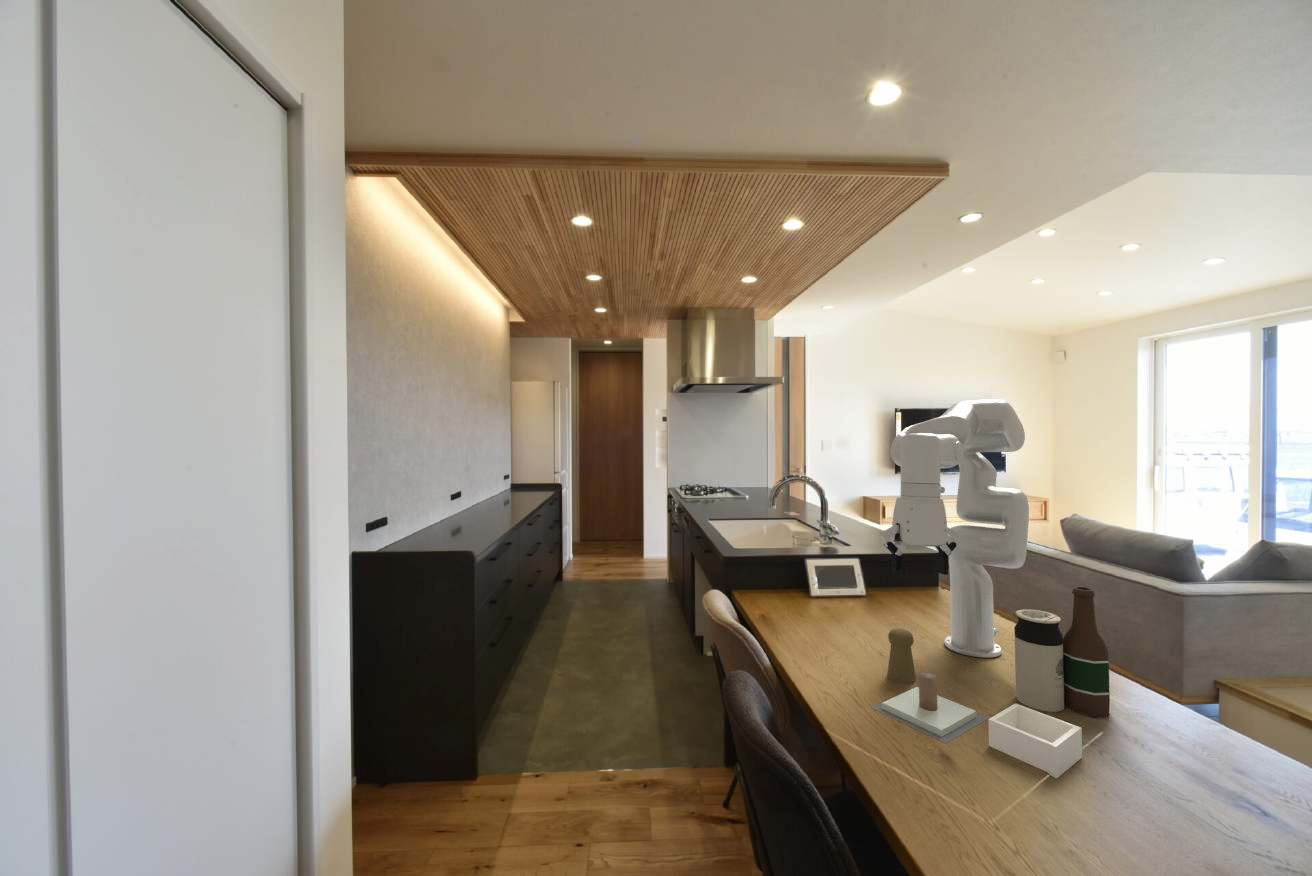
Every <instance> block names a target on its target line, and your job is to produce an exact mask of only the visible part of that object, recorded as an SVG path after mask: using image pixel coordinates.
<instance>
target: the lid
mask: <svg viewBox="0 0 1312 876" xmlns="http://www.w3.org/2000/svg"><path fill="white" fill-rule="evenodd" d="M895 696H896V697H895ZM895 696H894V697H891V698H889V699H887V700H884V701H885V702H884V701H883V702H881V703H882V709H884V710H886V711H888V712H890V713H893V714H895V715H897V716H899V717H901V718H903V719H905V720H908V721H910V722H912V723H914V724H916V725H918V726H920V727H922V728H925V729H927V730H929V731H931V732H933V733H935V734H937V735H940V736H942V737H943V736H944V735H946V734H948V733H950V732H951V731H953V730H955V729H957V728H958V727H960V726H962V725H964V724H965V723H967V722H969V721H971V720H972V719H974V718H976V713H977V710H975V709H973V708H970V707H968V706H965V705H962V704H960V703H957V702H955V701H952V700H950V699H948V698H945V697H943V696H940V695H938V676H937V675H935V674H933V673H930V672H920V673H918V687H917V686H915V687H913V688H911V689H909V690H907V692H906V691H904V692H901V693H899V694H898V695H895Z"/></svg>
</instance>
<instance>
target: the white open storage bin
mask: <svg viewBox="0 0 1312 876" xmlns="http://www.w3.org/2000/svg"><path fill="white" fill-rule="evenodd" d="M987 720H988V721H987V722H988V746H989V747H991V748H993V749H995V750H997V751H998V752H999V751H1000V752H1002V753H1004V754H1006V755H1009V756H1010V757H1013V758H1014V759H1017V760H1020V761H1021V762H1024V763H1026V764H1028V765H1031V766H1033V767H1035V768H1037V769H1040V770H1041V771H1044V772H1046V773H1047V776H1050V777H1053V778H1054V779H1058V778H1059V777H1061V776H1062V775H1063V774H1064V773H1066V772H1067V771H1068V770H1069V769H1070V768H1071V767H1072V766H1074V765H1075V764H1076V763H1077V762H1079V761H1080V760H1081V759H1083V743H1082V741H1083V739H1082V738H1083V737H1082V736H1083V734H1082V727H1081V726H1078V725H1075V724H1072V723H1070V722H1066V721H1064V720H1062V719H1059V718H1056V717H1053V716H1052V715H1051V716H1050V715H1049V714H1045V713H1044V712H1041V711H1040V712H1039V711H1038V710H1034V709H1032V708H1031V707H1028V706H1027V707H1026V706H1024V705H1021V704H1018V703H1014V704H1011V705H1010V706H1008V707H1007V708H1005V709H1003V710H1002V711H1000V712H998V713H996V714H995V715H993V716H992V717H990V718H989V719H987Z"/></svg>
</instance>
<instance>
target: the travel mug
mask: <svg viewBox="0 0 1312 876" xmlns="http://www.w3.org/2000/svg"><path fill="white" fill-rule="evenodd" d="M1015 615H1016V617H1017V623H1016V624H1015V626H1014V628H1013V629H1014V664H1015V666H1014V667H1015V673H1014V675H1015V676H1014V677H1015V698H1016V700H1017V701H1018V702H1020V703H1022V704H1023V705H1025V706H1027V707H1028V708H1031V709H1032V708H1033V709H1036V710H1039V711H1044V712H1052V713H1053V712H1055V713H1056V712H1061V711H1063V710H1065V706H1064V669H1063V638H1064V635H1063V633H1062V631H1061V630H1060V628H1059V625H1060V622H1062V619H1061V617H1060V616H1058V615H1056V614H1055V613H1051V612H1048V611H1043V610H1038V609H1019V610H1016V611H1015Z"/></svg>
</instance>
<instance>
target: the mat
mask: <svg viewBox="0 0 1312 876" xmlns="http://www.w3.org/2000/svg"><path fill="white" fill-rule="evenodd" d="M907 691H908V690H907ZM907 691H905V692H907ZM896 696H897V695H895V696H894V697H896ZM885 701H886V700H884V701H883V702H885ZM870 708H871V709H872V710H875V711H876V712H878V713H880V714H883V715H885V716H887V717H889V718H891V719H893V720H896V721H898V722H899V723H901V724H904V725H906V726H907V727H910V728H912V729H915V730H917V731H918V732H920V733H923V734H925V735H927V736H929V737H931V738H933V739H935V740H937V741H940V742H942V743H943V744H947V743H949V742H952V741H953V740H954V739H955V740H956V738H958V737H959V736H961V735H963V734H965V733H966V732H968V731H970V730H971V729H973V728H975V727H977V726H979V725H980V724H982V723H984V722H985V721H987V720H988V719H990V718H988V717H986V716H984V715H981V714H979V713H977V712H976V718H974V719H972V720H971V721H969V722H967V723H965V724H964V725H962V726H960V727H958V728H957V729H955V730H953V731H951V732H950V733H948V734H946V735H944V736H943V737H942V736H940V735H937V734H935V733H933V732H931V731H929V730H927V729H925V728H922V727H920V726H918V725H916V724H914V723H912V722H910V721H908V720H905V719H903V718H901V717H899V716H897V715H895V714H893V713H890V712H888V711H886V710H884V709H882V702H880V703H878V704H876V705H873V706H871V707H870Z"/></svg>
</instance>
